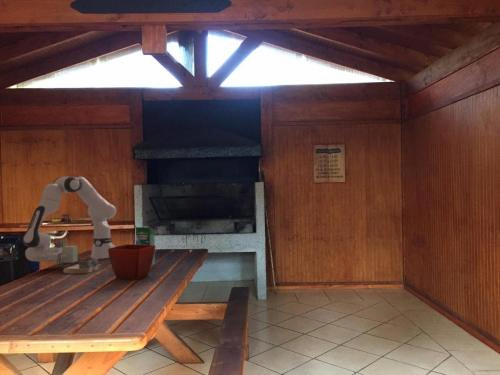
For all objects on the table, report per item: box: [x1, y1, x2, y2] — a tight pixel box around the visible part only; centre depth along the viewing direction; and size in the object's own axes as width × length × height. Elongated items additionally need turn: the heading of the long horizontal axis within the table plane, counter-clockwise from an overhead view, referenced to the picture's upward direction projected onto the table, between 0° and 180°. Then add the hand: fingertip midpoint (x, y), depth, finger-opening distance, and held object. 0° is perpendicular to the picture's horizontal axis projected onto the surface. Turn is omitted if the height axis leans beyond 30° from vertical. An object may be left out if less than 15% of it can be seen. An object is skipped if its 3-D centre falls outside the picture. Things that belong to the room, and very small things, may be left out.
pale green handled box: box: [61, 238, 79, 266], centre depth 257 cm, size 5×7×15 cm
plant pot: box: [108, 244, 156, 281], centre depth 229 cm, size 19×19×17 cm
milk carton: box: [135, 225, 156, 267], centre depth 264 cm, size 9×9×25 cm
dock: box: [63, 257, 102, 274], centre depth 250 cm, size 16×15×6 cm
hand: (71, 254), depth 257 cm, fingers closed on pale green handled box, 5 cm apart
